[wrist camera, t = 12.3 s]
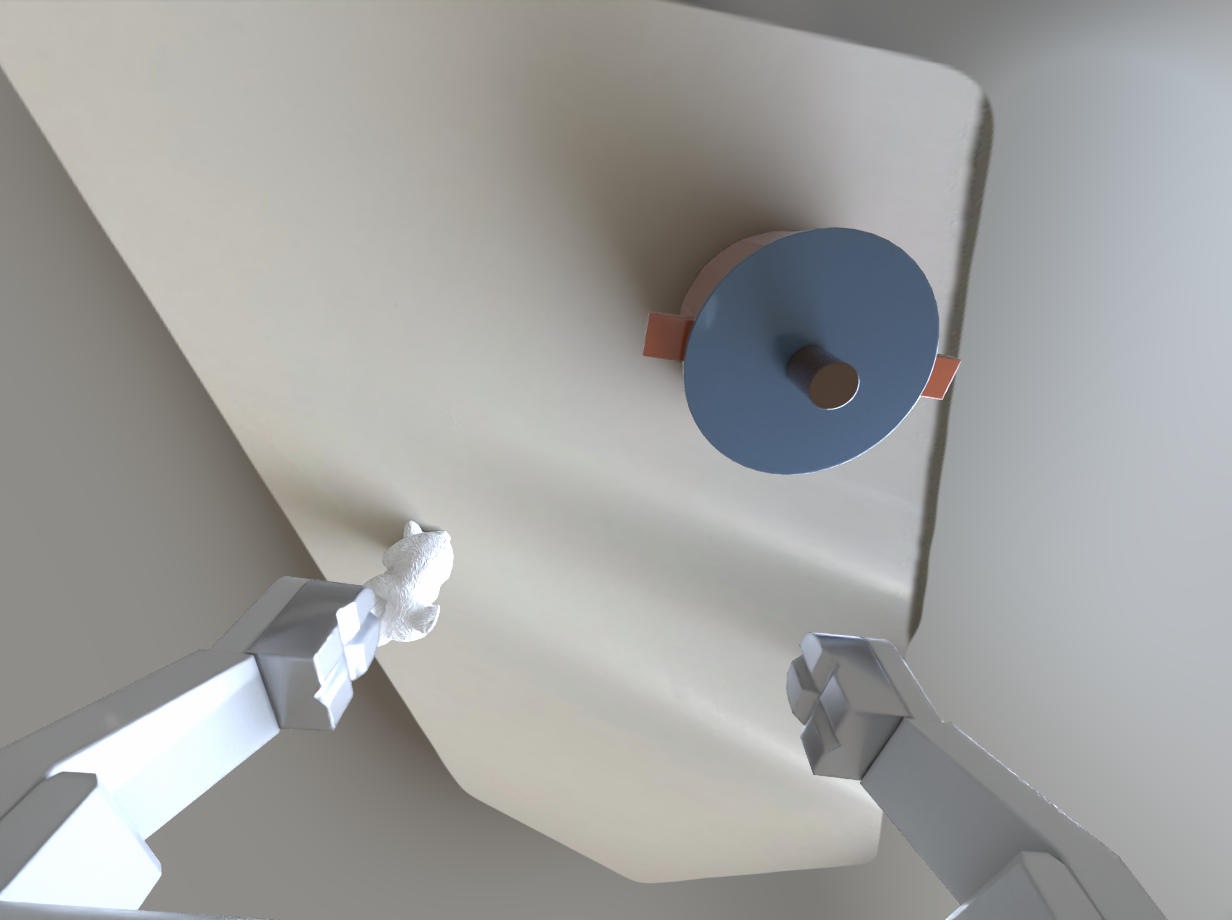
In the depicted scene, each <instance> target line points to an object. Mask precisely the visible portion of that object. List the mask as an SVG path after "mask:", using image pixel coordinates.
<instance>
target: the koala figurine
mask: <svg viewBox="0 0 1232 920" xmlns="http://www.w3.org/2000/svg"><path fill="white" fill-rule="evenodd" d="M449 542H450V536H449V534H448V533H447V532H445V531H432V532H423V531H422V530H421V529H420V527H419V525H418V524H416V523H415V522H414V521H411V520H410V521H408V522H407V523H406V524H405V526H404V532H403V539H402V540H399V541H398V542H397V543H395V544H394V545H393V546H391V547H390V548H389V549H388V550H387V551H386V552H385V553H384V556H383V558H382V562H383V564H384V566H386V567H387V571H386V572H385V573H384V574H381V575H378V576H376V577H374V578H372V579H370V580H369V581H367V582H366V583H365V584H364V585H363V586H368V587H371V588H373V590H374V595H375V600H376V603H375V604H374V606H373V607H372V609H371V612H372V613H373V614H374V615H375V616H376V617H377V618H378V619H379V625H380V635H379V643H378V646H381V645H384V644H386V643H388V642H389V641H390V640H396V641H402V642H403V641H413V640H417V639H420V638H422V637H424V636H425V635H426V634H427V633H429V632H430V630H432V629H433V626H434V625H435V623H436V622H435V621H437V617H438V615H439V612H440V607H439V605H438V604H436V605H432V604H431V602H433V601H434V600H435V599H436V598H437V595H438V593H439V589H440V588H439V587H440V586H441V584H442V583H444V582H445V580H446V579H448V578H449V574H450V571H451V569H452V564H453V551H452V548H451V545H450V543H449Z"/></svg>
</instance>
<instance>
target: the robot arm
mask: <svg viewBox="0 0 1232 920" xmlns="http://www.w3.org/2000/svg"><path fill="white" fill-rule="evenodd" d="M375 603H376V600H375V595H374V590H373V588H371V587H368V586H361V585H353V584H346V583H338V582H330V581H322V580H315V579H313V580H311V579H303V578H296V577H288V576H284V577H282V578H280V579H278V580H276V581H274V582H273V583H272V584H271V586H270V587H269V588H268V589H267V590H266V591H265V592H264V593H263V594H262V595H261V596H260V597H259V598H258V599H257V600H256V601H255V602H254V603H253V605H251V606H250V608H249V609H248V610H247V611H246V612H245V613H244V614H243V615H242V616H241V617H240V618H239V620H237V621H236V622H235V624H233V625H232V627H231V628H230V629H229V630H228V631H227V632H226V633H225V634H224V635H223V636H222V637H221V638H220V639H219V640H218V641H217V642H216V643H215V645H213V647H212V648H211V649H210V650H197V651H195V652H193V653H191V654H189V655H188V656H186V657H183V658H182V659H179V660H177V661H175V662H173V663H172V664H170V665H167V666H166V667H164V668H161V669H159V670H157V671H155V672H153V673H151V674H149V675H147V676H146V677H143V678H141V679H139V680H137V681H135V682H133V683H131V684H129V685H127V686H125V687H123V688H121V689H119V690H117V691H115V692H113V693H111V694H109V695H107V696H105V697H103V698H101V699H99V700H97V701H95V702H93V703H92V704H90V705H87V706H85V707H83V708H81V709H79V710H77V711H75V712H74V713H71V714H69V715H67V716H65V717H63V718H61V719H59V720H57V721H55V722H53V723H51V724H49V725H47V726H45V727H43V728H41V729H39V730H37V731H35V732H33V733H31V734H29V735H27V736H25V737H23V738H21V739H19V740H17V741H16V742H13V743H11V744H9V745H7V746H5V747H3V748H1V749H0V920H271V919H258V918H243V917H229V916H215V915H201V914H186V913H172V912H157V911H142V910H138V908H139V907H140V906H141V904H142V903H143V901H144V900H145V898H146V897H147V895H148V894H149V892H150V891H151V889H152V888H153V887H154V885H155V884H156V882H157V881H158V879H159V878H160V876H161V864H160V862H159V861H158V859H157V858H156V856H155V855H154V854H153V852H152V851H151V849H150V848H149V847H148V845H147V844H146V842H145V841H144V840H145V839H146V838H148V837H149V836H150V835H151V834H153V833H154V832H155V831H156V830H158V829H159V828H160V827H161V826H163V825H164V824H165V823H166V822H168V821H169V820H170V819H171V818H172V817H174V816H175V815H176V814H178V813H179V812H180V811H181V810H183V809H184V808H185V807H186V806H188V805H189V804H190V803H191V802H193V801H194V800H195V799H196V798H198V797H199V796H200V795H201V794H203V793H204V792H205V791H206V790H208V789H209V788H210V787H211V786H213V785H214V784H215V783H216V782H218V781H219V780H220V779H221V778H223V777H224V776H225V775H226V774H228V773H229V772H230V771H231V770H232V769H234V768H235V767H236V766H237V765H239V764H240V763H241V762H242V761H244V760H245V759H246V758H248V757H249V756H250V755H251V754H252V753H254V752H255V751H256V750H258V749H259V748H260V747H261V746H263V745H264V744H265V743H266V742H268V741H269V740H270V739H271V738H273V737H274V736H275V735H276V734H278V733H279V732H280V729H279V728H281V729H282V728H283V729H298V730H314V731H333V730H334V729H335V727H336V725H337V723H338V722H339V720H340V718H341V716H342V714H343V713H344V711H345V709H346V707H347V706H348V704H349V702H350V700H351V698H352V696H353V690H352V685H351V682H352V681H354V680H355V679H357V678H358V677H360V676H361V675H363V674H364V673H366V672H367V670H368V668H369V666H370V664H371V662H372V660H373V658H374V656H375V652H376V649H377V646H378V643H379V635H380V625H379V619H378V618H377V617H376V616H375V615H374V614H373V613H372V612H371V609H372V607H373V606H374V604H375ZM799 646H800V649H801V651H802V654H803V655H801V656H800V657H798V658H796V659H795V660H793V661H792V663H791V665H790V668H789V670H788V673H787V685H786V689H787V695H788V701H789V704H790V707H791V710H792V713H793V714H794V715H795V716H796V717H797V718H798V719H799V720H800V721H801V722H802V724H803V725H804V728H803V731H802V734H801V740H802V743H803V746H804V749H805V752H806V755H807V758H808V760H809V763H810V766H811V769H812V772H813V775H820V776H828V777H837V778H845V779H853V780H861V782H860V784H861V785H862V786H863V787H864V789H865V790H866V791H867V792H868V793H869V795H870V796H871V797H872V798H873V799H874V801H875V802H876V803H877V804H878V805H879V807H880V808H881V809H882V810H883V812H884V813H885V814H886V815H887V816H888V818H889V819H890V820H891V821H892V822H893V824H894V825H895V826H896V827H897V828H898V830H899V831H900V832H901V833H902V835H903V836H904V837H905V838H906V839H907V840H908V842H909V843H910V844H911V845H912V846H913V848H914V849H915V850H916V851H917V852H918V854H919V855H920V856H921V857H922V859H923V860H924V861H925V862H926V863H927V865H928V866H929V867H930V868H931V870H932V871H933V872H934V873H935V874H936V876H937V877H938V878H939V879H940V880H941V882H942V883H943V884H944V885H945V886H946V888H947V889H948V890H949V891H950V892H951V894H952V895H953V896H954V897H955V899H956V900H957V901H958V902H959V903H960V905H961V906H960V907H959V908H958V909H957V910H955V911H954V912H953V913H952V914H951V915H950V916H949V917H948V918H946V919H945V920H1167V919H1166V917H1165V916H1164V914H1163V913H1162V912H1161V910H1160V909H1159V908H1158V907H1157V905H1156V904H1155V903H1154V901H1153V900H1152V899H1151V897H1150V896H1149V895H1148V893H1147V892H1146V891H1145V890H1144V888H1143V887H1142V886H1141V884H1140V883H1139V882H1138V880H1137V879H1136V878H1135V876H1134V875H1133V874H1132V873H1131V871H1130V870H1129V869H1128V867H1127V866H1126V865H1125V863H1124V862H1123V861H1122V860H1121V858H1120V857H1119V856H1118V855H1117V854H1115V853H1114V852H1113V851H1111V850H1110V849H1109V848H1108V847H1107V846H1105V845H1104V844H1103V843H1102V842H1100V841H1099V840H1098V839H1096V838H1095V837H1094V836H1093V835H1091V834H1090V833H1089V832H1088V831H1086V830H1085V829H1084V828H1083V827H1081V826H1080V825H1079V824H1078V823H1076V822H1075V821H1074V820H1073V819H1071V818H1070V817H1069V816H1068V815H1066V814H1065V813H1064V812H1063V811H1061V810H1060V809H1059V808H1058V807H1056V806H1055V805H1054V804H1052V803H1051V802H1050V801H1049V800H1048V799H1046V798H1045V797H1044V796H1043V795H1041V794H1040V793H1039V792H1038V791H1036V790H1035V789H1034V788H1033V787H1031V786H1030V785H1029V784H1028V783H1026V782H1025V781H1024V780H1023V779H1021V778H1020V777H1019V776H1017V775H1016V774H1015V773H1014V772H1013V771H1011V770H1010V769H1009V768H1008V767H1006V766H1005V765H1004V764H1002V763H1001V762H1000V761H999V760H997V759H996V758H995V757H994V756H992V755H991V754H990V753H989V752H988V751H986V750H985V749H984V748H983V747H981V746H980V745H979V744H977V743H976V742H975V741H973V739H971V738H970V737H969V736H967V735H966V734H965V733H964V732H963V731H961V730H960V729H959V728H957V727H956V726H955V725H954V724H953V723H951V722H945V721H942V720H941V718H940V716H939V715H938V713H937V712H936V710H935V709H934V707H933V705H932V704H931V702H930V701H929V699H928V697H927V696H926V694H925V693H924V691H923V690H922V688H921V686H920V685H919V683H918V682H917V680H916V678H915V677H914V675H913V674H912V672H911V670H910V669H909V667H908V666H907V664H906V663H905V661H904V659H903V658H902V656H901V655H900V653H899V651H898V650H897V648H896V647H895V645H894V644H892V643H891V642H890V641H889V640H887V639H876V638H866V637H857V636H846V635H835V634H825V633H814V632H809V633H807V634H806V635H805V636H804V637H803V639H802V641H801V643H800V645H799Z"/></svg>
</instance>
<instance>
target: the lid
mask: <svg viewBox="0 0 1232 920" xmlns="http://www.w3.org/2000/svg"><path fill="white" fill-rule="evenodd" d="M938 342H939V315H938V309H937V303H936V300H935V297H934V294H933V291H932V288H931V286H930V284H929V282H928V280H927V278H926V276H925V274H924V273H923V271H922V270H921V269H920V268H919V266H918V265H917V264H916V262H915V261H914V260H913V259H912V258H911V257H910V256H909V255H908V254H907V253H905V252H904V251H903V250H902V249H901V248H899V247H898V246H896V245H895V244H893V243H891V242H890V241H888V240H886V239H884V238H882V237H879V236H877V235H875V234H872V233H868V232H864V231H860V230H856V229H848V228H836V227H830V228H814V229H809V230H804V231H799V232H795V233H792V234H789V235H786V236H783V237H780V238H777V239H775V240H773V241H771V242H769V243H767V244H765V245H763V246H761V247H759V248H758V249H756V250H755V251H753V252H752V253H750V254H748V255H747V256H745V257H744V258H743V259H741V260H740V261H739V262H738V263H737V264H736V265H734V266H733V267H732V268H731V269H730V270H729V271H728V272H727V273H726V274H725V275H724V276H723V277H722V278H721V279H720V280H719V281H718V282H717V283H716V285H715V286H714V287H713V289H712V290H711V291H710V293H709V294H708V295H707V297H706V298H705V300H704V302H703V303H702V305H701V307H700V309H699V310H698V312H697V314H696V316H695V319H694V321H693V323H692V326H691V328H690V331H689V334H688V338H687V341H686V345H685V351H684V358H683V384H684V392H685V396H686V399H687V403H688V407H689V409H690V412H691V414H692V416H693V419H694V421H695V423H696V424H697V426H698V428H699V429H700V431H701V432H702V434H703V435H704V436H705V438H706V439H707V440H708V441H709V442H710V443H711V444H712V445H713V446H714V447H715V448H716V449H717V450H718V451H719V452H720V453H722V454H723V455H725V456H726V457H728V458H729V459H731V460H732V461H734V462H736V463H738V464H741V465H743V466H745V467H748V468H751V469H754V470H757V471H761V472H766V473H771V474H783V475H792V474H805V473H812V472H817V471H821V470H825V469H829V468H832V467H835V466H837V465H840V464H843V463H845V462H847V461H849V460H851V459H853V458H855V457H857V456H859V455H861V454H863V453H864V452H866V451H867V450H869V449H871V448H872V447H874V446H875V445H876V444H878V443H879V442H880V441H881V440H883V439H884V438H885V437H887V436H888V435H889V434H890V433H891V432H892V431H893V430H894V429H895V428H896V427H897V426H898V425H899V424H900V423H901V422H902V420H903V419H904V418H905V417H906V416H907V415H908V413H909V412H910V411H911V409H912V408H913V406H914V405H915V403H916V402H917V401H918V399H919V397H920V396H921V394H922V392H923V390H924V388H925V386H926V384H927V382H928V380H929V377H930V375H931V372H932V370H933V366H934V363H935V359H936V355H937V350H938Z"/></svg>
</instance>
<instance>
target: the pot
mask: <svg viewBox="0 0 1232 920" xmlns="http://www.w3.org/2000/svg"><path fill="white" fill-rule="evenodd" d="M792 233H795V232H794V231H780V230H777V231H772V232H768V233H764V234H759V235H754V236H751V237H748V238H745V239H742V240H739V241H736V242H735V243H734V244H733V245H731V246H729V247H728V248H726V249H725V250H723V251H721V252H720V253H719V254H718V255H716V256H715V257H714V258H713V259H712V260H711V261H709V262H708V263H707V264H706V265H705V266H704V267H703V269H702V270H701V271H700V273H699V274H698V275H697V277H696V278H695V280H694V281H693V282H692V284H691V286H690V288H689V290H688V292H687V293H686V296H685V297H684V300H683V303H682V307H681V310H680V314H679V315H677V314H671V313H664V312H658V311H651V310H649V313H648V319H647V324H646V330H645V336H644V342H643V348H642V354H643V356H648V357H654V358H661V359H668V360H675V361H681V364H682V369H683V358H684V351H685V345H686V341H687V338H688V334H689V331H690V328H691V326H692V323H693V321H694V319H695V316H696V314H697V312H698V310H699V309H700V307H701V305H702V303H703V302H704V300H705V298H706V297H707V295H708V294H709V293H710V291H711V290H712V289H713V287H714V286H715V285H716V283H717V282H718V281H719V280H720V279H721V278H722V277H723V276H724V275H725V274H726V273H727V272H728V271H729V270H730V269H731V268H732V267H733V266H734V265H736V264H737V263H738V262H739V261H740V260H741V259H743V258H744V257H745V256H747V255H748V254H750V253H752V252H753V251H755V250H756V249H758V248H759V247H761V246H763V245H765V244H767V243H769V242H771V241H773V240H775V239H777V238H780V237H783V236H786V235H789V234H792ZM960 362H961V360H959V359H957V358H955V357H952V356H948V355H942V354H937V355H936V359H935V363H934V366H933V370H932V372H931V375H930V377H929V380H928V382H927V384H926V386H925V388H924V390H923V392H922V394H921V397H928V398H934V399H943V397H944V395H945V393H946V391H947V389H948V387H949V384H950V382H951V380H952V378H953V376H954V374H955V372H956V370H957V368H958V366H959V364H960Z"/></svg>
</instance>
